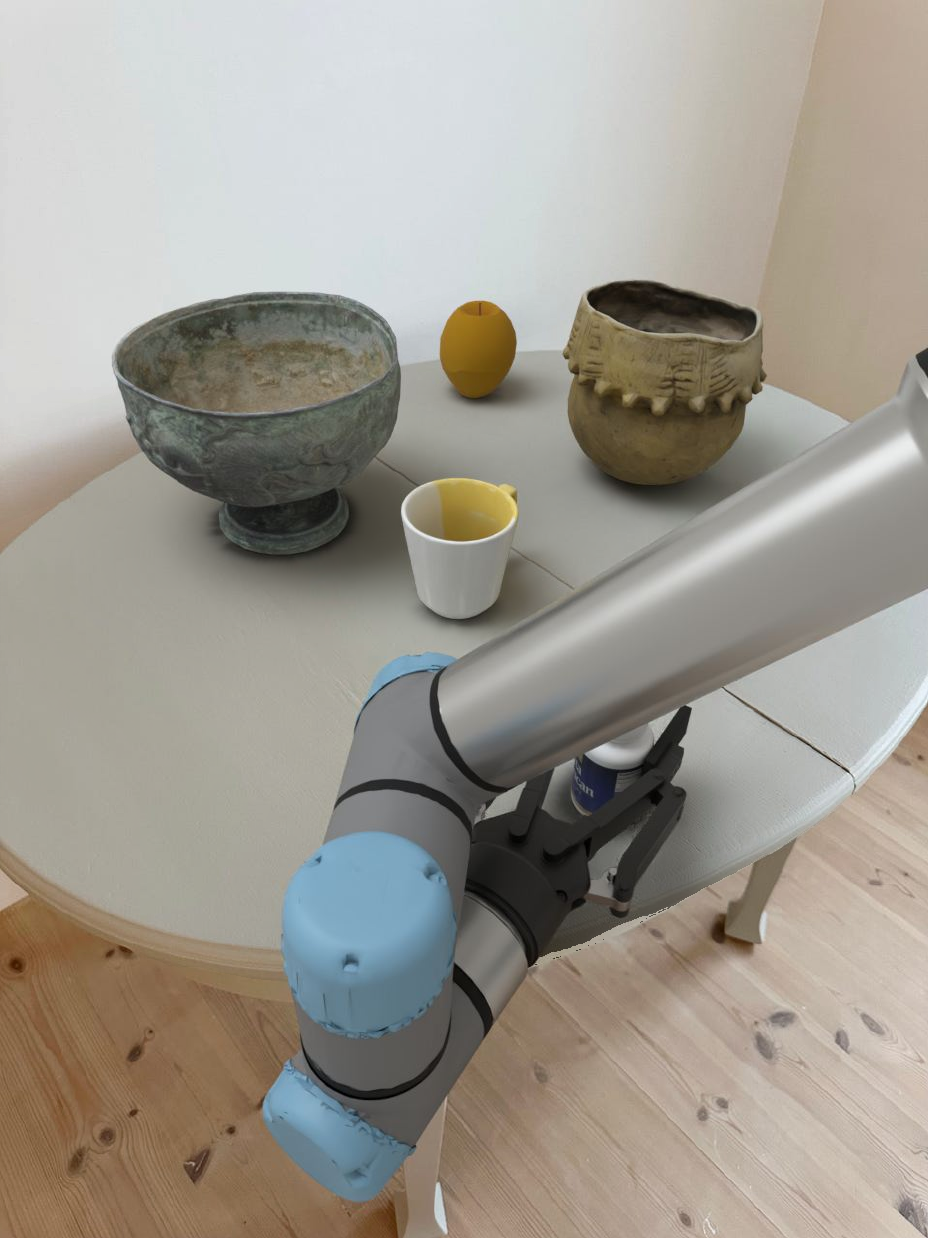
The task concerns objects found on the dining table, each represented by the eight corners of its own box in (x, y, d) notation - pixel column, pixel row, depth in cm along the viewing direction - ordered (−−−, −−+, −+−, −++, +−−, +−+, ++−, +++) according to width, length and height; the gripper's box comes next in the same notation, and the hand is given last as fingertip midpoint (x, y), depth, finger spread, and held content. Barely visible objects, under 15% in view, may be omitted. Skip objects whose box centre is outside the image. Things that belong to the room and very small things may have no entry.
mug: (455, 652, 85) (456, 557, 78) (381, 598, 90) (377, 505, 83) (559, 588, 92) (568, 496, 85) (485, 542, 98) (488, 452, 91)
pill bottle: (556, 786, 73) (567, 695, 67) (614, 762, 75) (630, 671, 69) (595, 837, 70) (610, 746, 63) (655, 811, 71) (676, 720, 65)
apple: (521, 408, 120) (526, 317, 112) (444, 412, 118) (444, 320, 111) (507, 373, 127) (512, 286, 119) (435, 377, 126) (435, 289, 118)
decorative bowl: (463, 532, 98) (457, 345, 85) (239, 637, 86) (194, 437, 73) (325, 438, 114) (303, 269, 101) (121, 514, 102) (67, 334, 89)
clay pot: (625, 408, 120) (648, 247, 107) (775, 472, 109) (820, 301, 96) (514, 468, 108) (525, 296, 96) (669, 547, 97) (704, 364, 84)
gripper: (360, 892, 63) (537, 689, 78) (610, 1046, 56) (753, 788, 70) (354, 820, 58) (544, 618, 73) (626, 978, 51) (776, 717, 66)
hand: (646, 702), depth 72 cm, fingers closed on pill bottle, 5 cm apart
